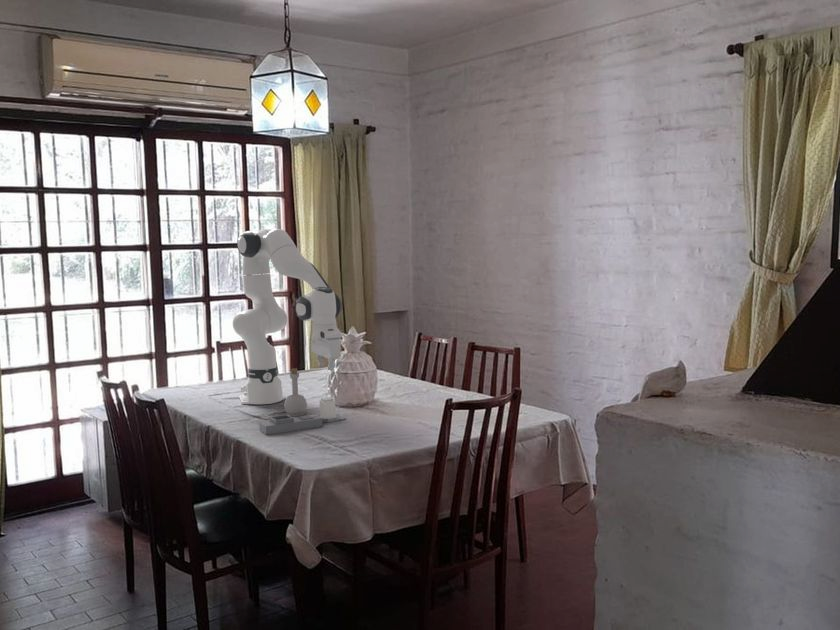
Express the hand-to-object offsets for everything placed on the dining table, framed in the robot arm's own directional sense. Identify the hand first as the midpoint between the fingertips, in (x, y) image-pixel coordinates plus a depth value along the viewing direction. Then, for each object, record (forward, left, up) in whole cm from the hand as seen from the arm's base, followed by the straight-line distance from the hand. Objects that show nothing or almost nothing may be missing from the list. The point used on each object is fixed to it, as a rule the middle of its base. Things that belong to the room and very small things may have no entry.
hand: (325, 368), depth 293 cm
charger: (0, 0, -19) cm, 19 cm away
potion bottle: (-15, -7, -19) cm, 25 cm away
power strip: (+6, -15, -19) cm, 25 cm away
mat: (0, 0, -19) cm, 19 cm away
